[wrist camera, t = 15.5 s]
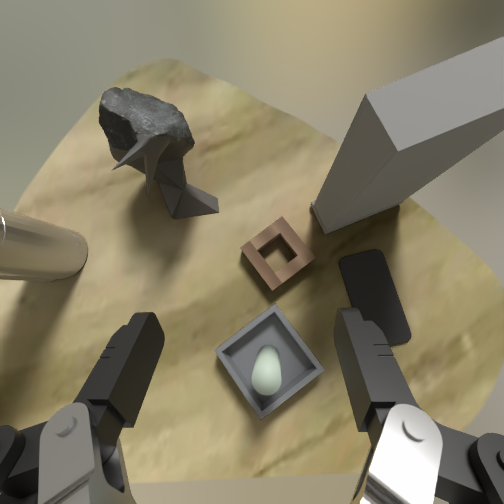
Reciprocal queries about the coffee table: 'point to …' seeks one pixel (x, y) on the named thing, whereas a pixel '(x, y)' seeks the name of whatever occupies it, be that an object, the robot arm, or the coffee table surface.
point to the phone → (375, 294)
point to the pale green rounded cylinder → (267, 371)
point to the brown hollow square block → (290, 240)
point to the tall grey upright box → (413, 135)
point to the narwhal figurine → (153, 147)
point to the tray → (291, 358)
